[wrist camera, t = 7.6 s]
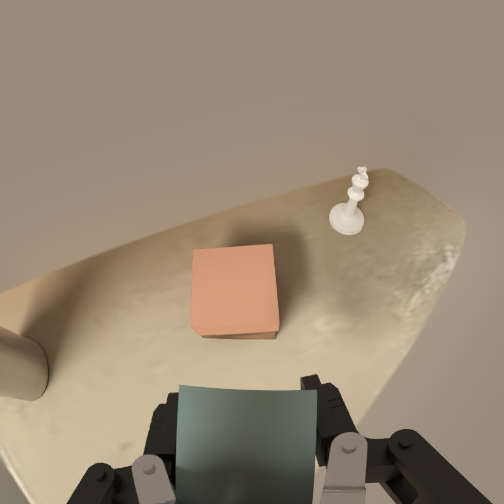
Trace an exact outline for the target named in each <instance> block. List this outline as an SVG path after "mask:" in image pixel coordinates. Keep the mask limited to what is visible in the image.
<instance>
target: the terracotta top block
mask: <svg viewBox="0 0 504 504" xmlns="http://www.w3.org/2000/svg"><path fill="white" fill-rule="evenodd" d="M279 323H280V322H279V310H278V299H277V287H276V277H275V266H274V256H273V245H272V244H264V245H250V246H237V247H223V248H210V249H197V250H193V264H192V292H191V328H192V329H193V330H194V331H195V332H197V333H198V334H199V335H222V334H242V333H259V332H273V331H279Z"/></svg>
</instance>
